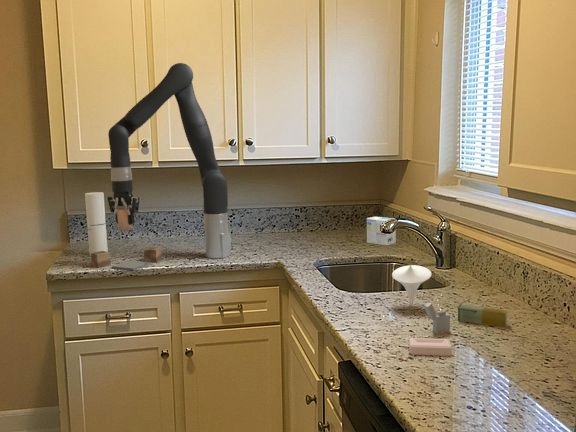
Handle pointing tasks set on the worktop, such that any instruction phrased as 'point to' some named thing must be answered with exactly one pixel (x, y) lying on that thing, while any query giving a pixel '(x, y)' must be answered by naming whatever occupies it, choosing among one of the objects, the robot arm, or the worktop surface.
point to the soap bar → (429, 346)
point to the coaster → (131, 265)
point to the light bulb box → (379, 232)
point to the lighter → (438, 319)
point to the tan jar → (123, 218)
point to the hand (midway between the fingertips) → (125, 223)
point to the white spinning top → (411, 278)
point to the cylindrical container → (96, 222)
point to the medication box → (482, 315)
